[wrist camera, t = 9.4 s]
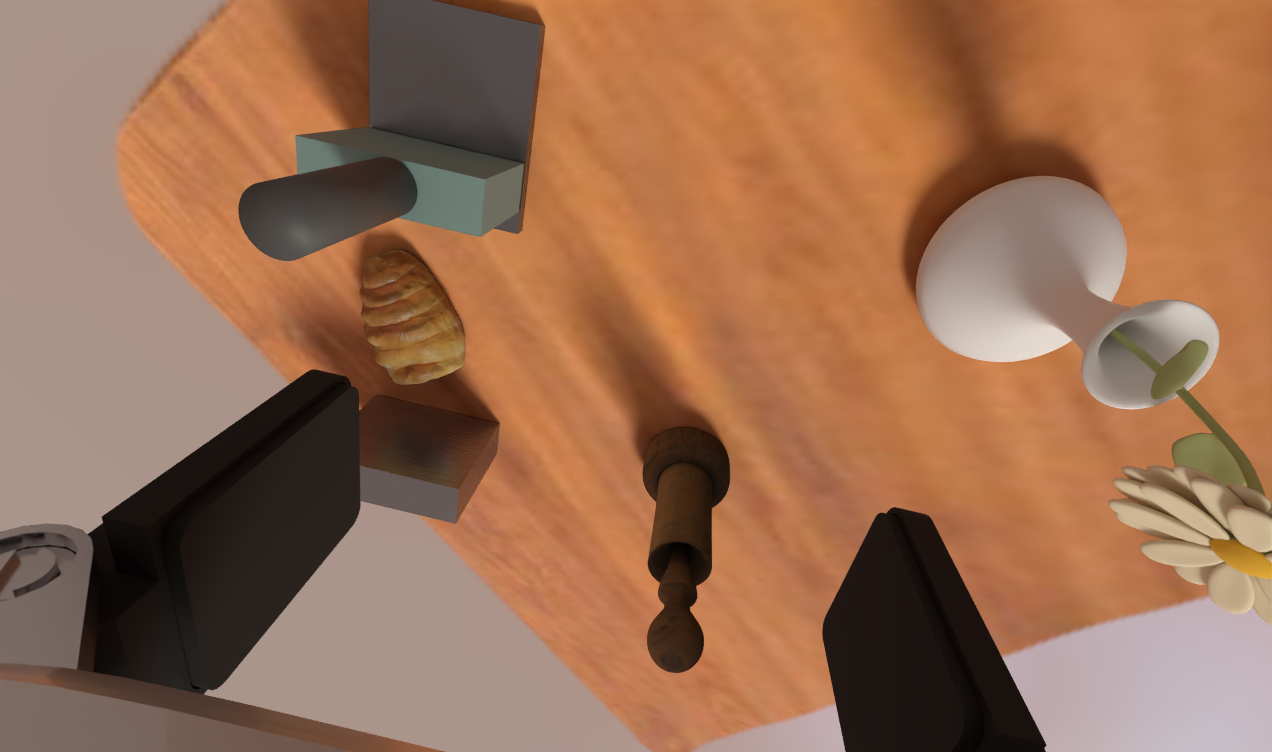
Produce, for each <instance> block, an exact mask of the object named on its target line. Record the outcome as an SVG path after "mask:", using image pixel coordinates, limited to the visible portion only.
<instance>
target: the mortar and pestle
mask: <svg viewBox="0 0 1272 752" xmlns="http://www.w3.org/2000/svg"><path fill="white" fill-rule="evenodd" d="M643 482H644V485H645V488H646V490H647V492H648V493H649V495H650V496H651V497H652V498H653V499H654V500H655V501H656V510H655V518H654V525H653V532H652V538H651V545H650V551H649V558H648V568H649V571H650V573H651V575H652V576H653V577H654V578H655V579H656V580H657V581H658V582H660V586H659V590H658V596H659V599H660V601H661V602H662V603H663V604H664V605H665V606H664V609H663V610H662V611H661V612H660V613H659V614H658V616H657V617H656V618H655V619H654V620H653V622H652V623H651V625H650V627H649V630H648V635H647V645H648V650H649V653H650V655H651V657H652V659H653V661H654V662H655V663H656V664H657V665H658V666H659V667H660V668H661V669H663V670H665V671H668V672H672V673H680V672H684V671H687V670H689V669H690V668H692V667H693V666H694V665H695V664H696V663H697V662H698V660H699V659H700V657H701V654H702V651H703V647H704V636H703V632H702V629H701V627H700V625H699V623H698V622H697V620H696V619H695V617H694V616H693V614H692V613H691V611H690V607H691V606H692V605H693V604H694V603H695V602H696V600H697V589H696V586H697V585H699V584H701V583H703V582H704V581H705V580H706V579H707V578H708V577H709V575H710V573H711V570H712V508H713V507H714V506H716V505H717V504H718V503H719V502H721V501H722V499H723V498H724V497H725V495H726V493H727V491H728V488H729V483H730V464H729V458H728V454H727V452H726V450H725V448H724V447H723V445H722V444H721V443H720V442H719V441H718V440H717V439H716V438H715V437H713V436H711V435H709V434H707V433H706V432H704V431H701V430H698V429H694V428H675V429H671V430H668V431H665V432H663V433H661V434H660V435H658V436H657V437H656V438H654V439H653V440H652V442H651V443H650V444H649V446H648V448H647V451H646V454H645V459H644V466H643Z"/></svg>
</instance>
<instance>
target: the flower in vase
mask: <svg viewBox="0 0 1272 752" xmlns="http://www.w3.org/2000/svg"><path fill="white" fill-rule="evenodd" d="M1126 255H1127V249H1126V239H1125V235H1124V231H1123V228H1122V226H1121V224H1120V221H1119V219H1118V217H1117V215H1116V213H1115V212H1114V210H1113V209H1112V207H1111V206H1110V204H1109V203H1108V202H1107V201H1106V200H1105V199H1104V198H1103V197H1102V196H1101V195H1100V194H1098V193H1097V192H1096V191H1094V190H1093V189H1091V188H1090V187H1088V186H1086V185H1084V184H1082V183H1080V182H1077V181H1074V180H1070V179H1067V178H1061V177H1055V176H1033V177H1024V178H1019V179H1015V180H1010V181H1007V182H1005V183H1002V184H999V185H996V186H994V187H992V188H990V189H987V190H985V191H983V192H981V193H980V194H978V195H976V196H975V197H973V198H971V199H970V200H968V201H967V202H966V203H964V204H963V205H962V206H961V207H959V208H958V209H957V210H956V211H955V212H954V213H953V214H951V215H950V216H949V217H948V218H947V219H946V220H945V222H944V223H943V224H942V225H941V226H940V228H939V229H938V230H937V231H936V233H935V234H934V236H933V237H932V239H931V240H930V242H929V244H928V246H927V248H926V250H925V252H924V254H923V256H922V259H921V262H920V265H919V269H918V273H917V279H916V301H917V305H918V310H919V313H920V315H921V318H922V320H923V322H924V324H925V325H926V327H927V329H928V330H929V331H930V333H931V334H932V335H933V336H934V338H936V339H937V340H938V341H939V342H940V343H941V344H942V345H944V346H945V347H947V348H949V349H950V350H952V351H954V352H956V353H958V354H960V355H963V356H966V357H969V358H973V359H979V360H984V361H992V362H1012V361H1020V360H1026V359H1030V358H1034V357H1038V356H1041V355H1043V354H1046V353H1049V352H1051V351H1053V350H1055V349H1058V348H1060V347H1062V346H1064V345H1065V344H1067V343H1068V342H1070V341H1072V340H1073V341H1074V342H1075V343H1076V344H1077V345H1078V347H1079V348H1080V349H1081V351H1082V352H1083V354H1084V355H1083V359H1082V367H1081V371H1082V377H1083V381H1084V384H1085V386H1086V388H1087V390H1088V391H1089V392H1090V393H1091V395H1092V396H1094V397H1095V398H1096V399H1097V400H1099V401H1100V402H1102V403H1104V404H1106V405H1109V406H1112V407H1115V408H1121V409H1141V408H1148V407H1152V406H1156V405H1159V404H1162V403H1165V402H1167V401H1170V400H1172V399H1174V398H1176V397H1178V396H1179V397H1180V398H1181V399H1182V400H1183V401H1184V402H1185V403H1186V404H1187V405H1188V406H1189V407H1190V408H1191V409H1192V410H1193V412H1194V413H1195V414H1196V415H1197V416H1198V417H1199V418H1200V419H1201V420H1202V421H1203V422H1204V424H1205V425H1206V426H1207V427H1208V428H1209V429H1210V430H1211V431H1212V432H1213V433H1211V434H1207V433H1196V434H1192V435H1189V436H1186V437H1183V438H1181V439H1179V440H1177V441H1175V443H1174V444H1173V446H1172V456H1173V460H1174V463H1175V466H1174V467H1173V469H1170V468H1167V467H1163V466H1158V465H1152V466H1148V467H1147V470H1144V469H1141V468H1137V467H1132V466H1126V467H1122V469H1121V470H1122V472H1123V473H1124V474H1125V475H1126V476H1127V477H1128V478H1129V479H1126V478H1116V479H1114V480H1113V483H1114V485H1115V486H1116V487H1117V489H1118V490H1119V491H1120V492H1121V493H1122V494H1124V495H1125V496H1127V497H1128V498H1123V499H1112V500H1110V501H1108V504H1109V506H1110V508H1111V509H1113V510H1114V511H1115V515H1116V517H1117V518H1118V519H1119V520H1120V521H1122V522H1123V523H1125V524H1127V525H1129V526H1131V527H1134V528H1136V529H1139V530H1141V531H1142V532H1144V533H1146V534H1148V535H1151V536H1153V537H1157V538H1160V539H1164V540H1151V541H1147V542H1144V543H1142V544H1141V545H1140V550H1141V551H1142V552H1143V553H1144V554H1145V555H1146V556H1147V557H1149V558H1150V559H1152V560H1154V561H1157V562H1159V563H1163V564H1168V565H1174V569H1175V570H1176V572H1177V573H1178V574H1179V575H1180V576H1181V577H1183V578H1184V579H1186V580H1187V581H1189V582H1192V583H1195V584H1207V591H1208V595H1209V597H1210V598H1211V600H1212V601H1213V602H1214V603H1215V604H1216V605H1218V606H1219V607H1221V608H1222V609H1224V610H1226V611H1228V612H1231V613H1234V614H1242V613H1245V612H1247V611H1248V610H1249V609H1250V608H1253V609H1254V610H1255V611H1256V613H1257V614H1258V615H1259V616H1260V617H1261V618H1262V619H1263V620H1264V621H1265V622H1266V623H1268V624H1270V625H1271V626H1272V502H1271V501H1270V500H1269V499H1268V498H1267V497H1266V496H1265V493H1264V491H1263V488H1262V485H1261V483H1260V480H1259V478H1258V476H1257V474H1256V471H1255V470H1254V468H1253V466H1252V464H1251V462H1250V461H1249V459H1248V458H1247V457H1246V455H1245V454H1244V452H1243V451H1242V450H1241V449H1240V448H1239V446H1238V445H1237V444H1236V443H1235V442H1234V441H1233V439H1232V438H1231V437H1230V436H1229V435H1228V434H1227V433H1226V432H1225V431H1224V430H1223V428H1222V427H1221V426H1220V425H1219V424H1218V423H1217V422H1216V421H1215V420H1214V419H1213V418H1212V416H1211V415H1210V414H1209V413H1208V412H1207V411H1206V410H1205V409H1204V408H1203V407H1202V406H1201V405H1200V403H1199V402H1198V401H1197V400H1196V399H1195V398H1194V397H1193V396H1192V395H1191V394H1190V393H1189V392H1188V391H1187V390H1189V389H1190V388H1191V387H1192V386H1194V385H1195V384H1196V383H1197V382H1198V381H1199V380H1200V379H1201V378H1202V377H1203V376H1204V375H1205V373H1206V372H1207V371H1208V370H1209V368H1210V366H1211V365H1212V363H1213V361H1214V359H1215V357H1216V354H1217V351H1218V347H1219V331H1218V327H1217V325H1216V322H1215V321H1214V319H1213V318H1212V316H1211V315H1210V314H1209V313H1208V312H1207V311H1206V310H1204V309H1203V308H1201V307H1199V306H1197V305H1195V304H1193V303H1190V302H1186V301H1180V300H1157V301H1151V302H1146V303H1143V304H1139V305H1137V306H1134V307H1128V306H1122V305H1119V304H1116V303H1113V302H1111V301H1112V299H1113V297H1114V296H1115V294H1116V292H1117V290H1118V288H1119V285H1120V283H1121V280H1122V277H1123V274H1124V270H1125V265H1126ZM1246 485H1247V487H1245V486H1246Z"/></svg>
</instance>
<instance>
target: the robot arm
mask: <svg viewBox="0 0 1272 752" xmlns="http://www.w3.org/2000/svg"><path fill="white" fill-rule="evenodd" d="M359 510H360V440H359V393H358V390H357V389H356V388H355V387H352V386H351V383H350V381H349V379H348V378H347V377H345V376H341V375H337V374H333V373H328V372H324V371H320V370H310V371H308V372H306V373H305V374H304V375H302V376H301V377H299V378H298V379H296V380H295V381H294V382H292V383H291V384H289V385H288V386H286V387H285V388H284V389H282V390H281V391H279V392H278V393H277V394H275V395H274V396H272V397H271V398H269V399H268V400H267V401H265V402H264V403H262V404H261V405H260V406H258V407H257V408H255V409H254V410H252V411H251V412H250V413H248V414H247V415H245V416H244V417H243V418H241V419H240V420H239V421H237V422H235V423H234V424H233V425H231V426H230V427H228V428H227V429H226V430H224V431H223V432H221V433H220V434H218V435H217V436H216V437H214V438H213V439H211V440H210V441H209V442H207V443H206V444H204V445H203V446H201V447H200V448H199V449H197V450H196V451H195V452H193V453H192V454H190V455H189V456H187V457H186V458H185V459H183V460H182V461H180V462H179V463H177V464H176V465H175V466H173V467H172V468H171V469H169V470H167V471H166V472H165V473H163V474H162V475H160V476H159V477H157V478H156V479H155V480H153V481H152V482H151V483H149V484H148V485H146V486H145V487H143V488H142V489H140V490H139V491H138V492H136V493H135V494H133V495H132V496H131V497H129V498H128V499H126V500H125V501H123V502H122V503H121V504H119V505H118V506H116V507H115V508H114V509H112V510H111V511H109V512H108V513H106V514H105V515H104V516H102V520H103V524H101V525H100V526H99V527H97V528H96V529H94V530H93V531H92V532H90V533H89V534H86V533H85V532H84V531H83V530H81V529H78V528H75V527H72V526H69V525H60V524H39V525H29V526H22V527H18V528H14V529H10V530H6V531H2V532H0V752H443V751H440V750H435V749H431V748H427V747H423V746H419V745H415V744H410V743H406V742H402V741H398V740H394V739H390V738H386V737H381V736H377V735H373V734H368V733H365V732H360V731H356V730H352V729H348V728H344V727H340V726H335V725H331V724H327V723H323V722H319V721H314V720H310V719H306V718H302V717H298V716H293V715H289V714H285V713H280V712H277V711H272V710H268V709H264V708H260V707H256V706H252V705H247V704H243V703H239V702H234V701H229V700H225V699H221V698H216V697H211V696H207V695H203V694H204V693H205V692H206V691H207V690H208V689H209V690H215V689H217V688H218V687H220V686H221V685H222V684H223V683H224V682H225V681H226V680H227V679H228V678H229V676H230V675H231V674H232V673H233V671H234V670H235V669H236V668H237V667H238V665H239V664H240V663H241V662H242V660H243V659H244V658H245V657H246V656H247V654H248V653H249V652H250V651H251V649H252V648H253V647H254V646H255V644H256V643H257V642H258V641H259V640H260V638H261V637H262V636H263V635H264V634H265V632H266V631H267V630H268V629H269V627H270V626H271V625H272V624H273V623H274V621H275V620H276V619H277V618H278V616H279V615H280V614H281V613H282V612H283V610H284V609H285V608H286V607H287V605H288V604H289V603H290V602H291V601H292V599H293V598H294V597H295V596H296V594H297V593H298V592H299V591H300V590H301V588H302V587H303V586H304V585H305V583H306V582H307V581H308V580H309V579H310V577H311V576H312V575H313V574H314V572H315V571H316V570H317V568H318V567H319V566H320V565H321V564H322V563H323V561H324V560H325V559H326V557H327V556H328V555H329V554H330V553H331V552H332V550H333V549H334V548H335V547H336V545H337V544H338V543H339V542H340V541H341V539H342V538H343V537H344V536H345V534H346V533H347V532H348V531H349V529H350V528H351V527H352V526H353V524H354V523H355V521H356V519H357V516H358V514H359ZM823 642H824V647H825V652H826V657H827V662H828V667H829V672H830V677H831V682H832V686H833V691H834V696H835V701H836V706H837V711H838V716H839V721H840V726H841V731H842V736H843V741H844V746H845V751H846V752H1046V751H1045V749H1044V748H1045V746H1046V744H1045V741H1044V739H1043V737H1042V735H1041V733H1040V732H1039V729H1038V727H1037V726H1036V724H1035V722H1034V720H1033V718H1032V716H1031V714H1030V712H1029V710H1028V708H1027V706H1026V704H1025V702H1024V700H1023V698H1022V696H1021V694H1020V692H1019V690H1018V689H1017V686H1016V684H1015V682H1014V680H1013V678H1012V677H1011V674H1010V673H1009V670H1008V669H1007V667H1006V665H1005V663H1004V661H1003V659H1002V657H1001V655H1000V653H999V651H998V649H997V647H996V645H995V643H994V641H993V639H992V637H991V635H990V633H989V631H988V629H987V627H986V625H985V623H984V621H983V619H982V617H981V615H980V613H979V611H978V610H977V608H976V606H975V604H974V602H973V600H972V598H971V596H970V594H969V592H968V590H967V588H966V586H965V584H964V582H963V580H962V578H961V576H960V574H959V572H958V570H957V568H956V566H955V564H954V562H953V560H952V558H951V556H950V555H949V553H948V551H947V549H946V547H945V545H944V543H943V541H942V539H941V537H940V535H939V533H938V531H937V529H936V527H935V525H934V523H933V521H932V519H931V518H930V517H929V516H928V515H926V514H922V513H918V512H913V511H909V510H905V509H901V508H896V507H894V508H891V509H890V510H889V511H888V512H887V513H879V514H878V515H877V516H876V518H875V519H874V521H873V523H872V525H871V527H870V529H869V531H868V533H867V535H866V537H865V539H864V541H863V543H862V545H861V547H860V549H859V551H858V553H857V555H856V557H855V559H854V561H853V563H852V565H851V567H850V569H849V571H848V573H847V575H846V577H845V579H844V581H843V583H842V585H841V587H840V589H839V591H838V593H837V595H836V597H835V599H834V601H833V603H832V605H831V607H830V609H829V611H828V613H827V614H826V617H825V619H824V623H823Z"/></svg>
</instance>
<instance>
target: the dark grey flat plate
mask: <svg viewBox="0 0 1272 752" xmlns="http://www.w3.org/2000/svg"><path fill="white" fill-rule="evenodd" d="M544 33H545V27H544V26H542V25H538V24H533V23H529V22H525V21H520V20H516V19H512V18H507V17H503V16H499V15H494V14H490V13H485V12H481V11H477V10H472V9H468V8H464V7H459V6H455V5H451V4H446V3H442V2H437V1H433V0H369V128H373V129H377V130H382V131H386V132H390V133H395V134H399V135H403V136H407V137H412V138H416V139H420V140H425V141H429V142H433V143H438V144H442V145H446V146H451V147H455V148H459V149H463V150H468V151H472V152H476V153H481V154H485V155H489V156H494V157H498V158H502V159H507V160H511V161H515V162H520V163H524V169H523V178H522V187H521V196H520V205H519V212H518V213H517V214H515V215H513V216H512V217H510V218H509V219H507V220H506V221H504V222H503V223H501V224H500V225H498V226H497V227H495V228H494V229H498V230H503V231H507V232H511V233H515V234H518V233H520V232H521V231H522V226H523V217H524V208H525V200H526V191H527V182H528V173H529V165H530V156H531V147H532V138H533V130H534V121H535V112H536V103H537V95H538V86H539V77H540V68H541V60H542V51H543V42H544Z"/></svg>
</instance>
